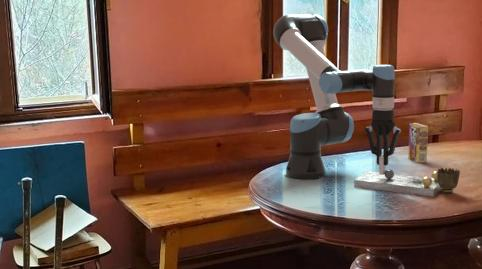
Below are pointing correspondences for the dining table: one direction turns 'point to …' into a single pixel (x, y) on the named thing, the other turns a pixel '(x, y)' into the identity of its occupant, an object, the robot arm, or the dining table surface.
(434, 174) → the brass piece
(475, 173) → the dining table surface
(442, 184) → the olive brown rounded bowl
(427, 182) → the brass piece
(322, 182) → the dining table surface
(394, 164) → the dining table surface
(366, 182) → the plate
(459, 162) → the dining table surface
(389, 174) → the steel ball
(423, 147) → the candy box
